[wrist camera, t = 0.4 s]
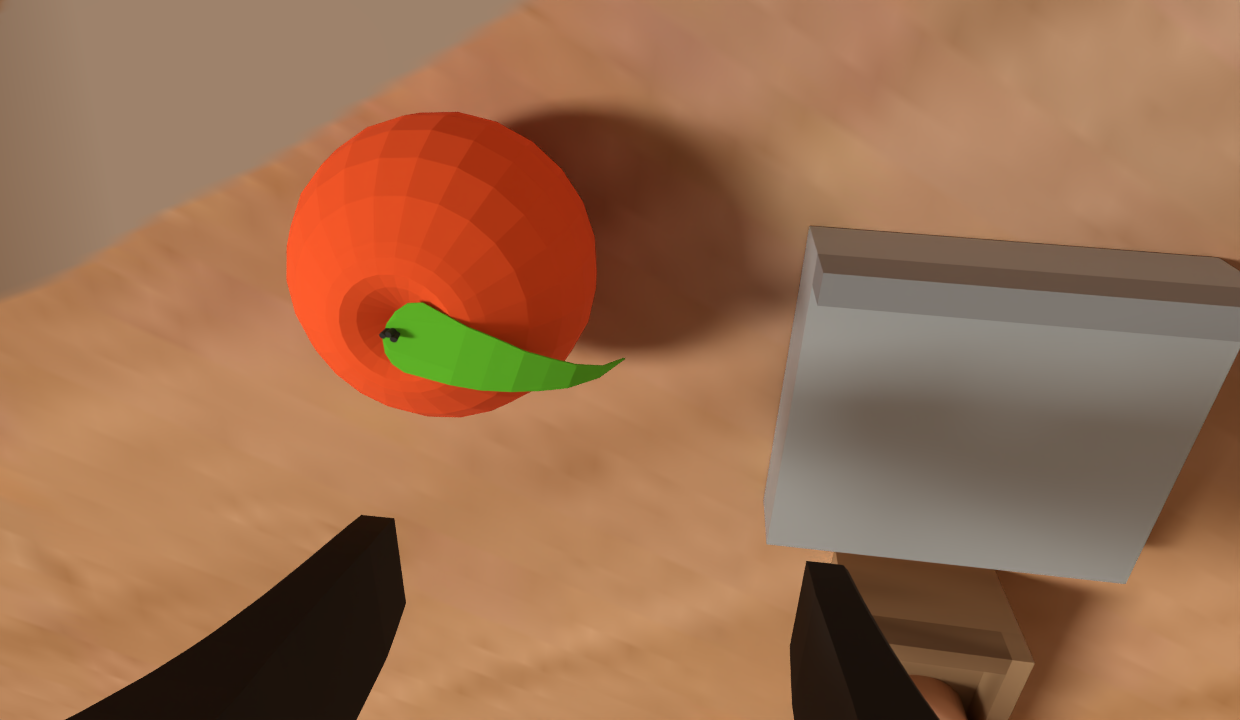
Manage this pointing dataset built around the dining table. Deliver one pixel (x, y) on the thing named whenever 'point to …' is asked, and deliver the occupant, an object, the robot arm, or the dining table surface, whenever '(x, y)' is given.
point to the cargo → (940, 698)
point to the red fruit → (444, 266)
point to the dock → (993, 399)
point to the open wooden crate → (947, 627)
